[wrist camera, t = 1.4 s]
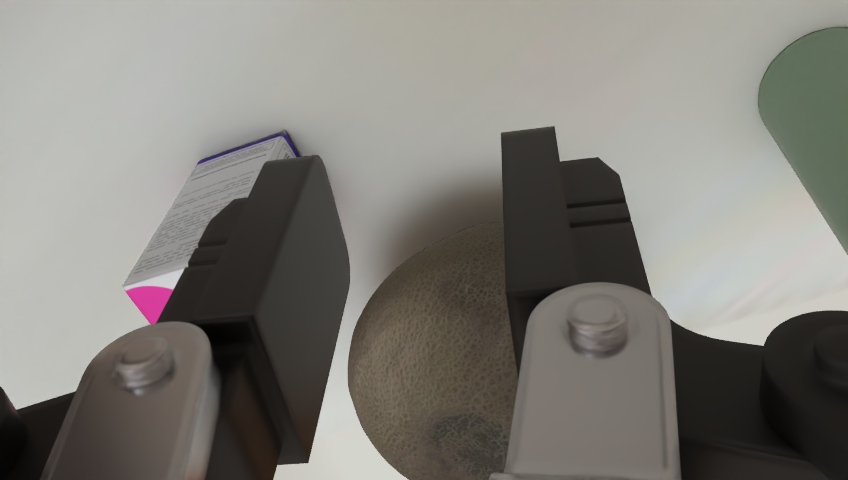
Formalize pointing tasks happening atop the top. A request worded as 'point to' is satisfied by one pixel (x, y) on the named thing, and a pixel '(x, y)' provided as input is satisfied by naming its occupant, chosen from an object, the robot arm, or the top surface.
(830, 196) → the spray bottle
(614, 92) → the top surface
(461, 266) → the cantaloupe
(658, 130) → the top surface
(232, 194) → the supplement box
